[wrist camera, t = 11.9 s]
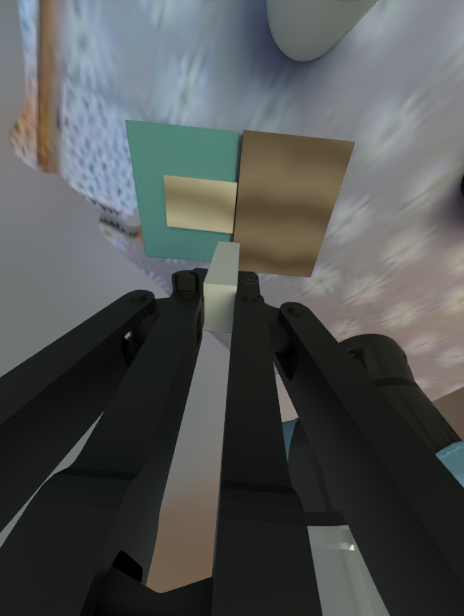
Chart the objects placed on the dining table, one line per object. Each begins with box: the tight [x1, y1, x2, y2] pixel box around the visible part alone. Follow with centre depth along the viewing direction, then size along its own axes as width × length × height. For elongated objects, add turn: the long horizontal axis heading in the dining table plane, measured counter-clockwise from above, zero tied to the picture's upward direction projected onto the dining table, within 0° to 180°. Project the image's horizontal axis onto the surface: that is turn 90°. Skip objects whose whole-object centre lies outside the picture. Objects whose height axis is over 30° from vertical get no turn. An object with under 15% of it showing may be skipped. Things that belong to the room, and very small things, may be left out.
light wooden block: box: [163, 174, 237, 233], centre depth 28 cm, size 6×9×2 cm, turn 85°
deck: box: [233, 130, 355, 277], centre depth 28 cm, size 16×12×2 cm
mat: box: [125, 120, 239, 262], centre depth 28 cm, size 16×13×1 cm
